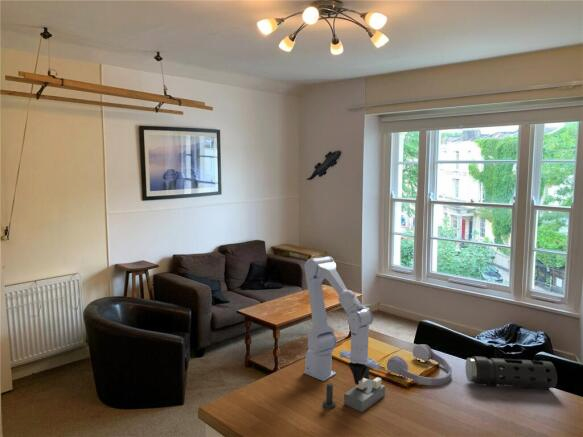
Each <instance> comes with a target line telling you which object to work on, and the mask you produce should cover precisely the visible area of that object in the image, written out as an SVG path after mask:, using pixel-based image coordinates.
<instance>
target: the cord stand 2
mask: <svg viewBox="0 0 583 437" xmlns="http://www.w3.org/2000/svg"><path fill="white" fill-rule="evenodd" d="M363 378H365V379H369V380H372V381H373V379H372V378H371V377H370V367H367V369H366V371H365V373H364V375H363ZM363 378H362V379H363Z"/></svg>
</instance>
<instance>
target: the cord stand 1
mask: <svg viewBox="0 0 583 437" xmlns="http://www.w3.org/2000/svg"><path fill="white" fill-rule="evenodd" d="M333 391H334V385H333V383H327V384H326V395H325V396H326V399H325V400H324V401H322V406H323V408H325V409H326V410H327V409H328V410H329V409H330V410H331V409H334V408H336V402H335V401H334V400H333V399H334V398H333V396H334V394H333V393H334V392H333Z"/></svg>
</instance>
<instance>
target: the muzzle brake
mask: <svg viewBox="0 0 583 437" xmlns="http://www.w3.org/2000/svg"><path fill="white" fill-rule="evenodd" d="M546 370H547V371H546ZM465 375H466V380H467V381H468V382H469V383H473V384H474V385H481V386H482V385H483V386H485V387H494V388H496V387H497V386H509V387H511V386H512V387H513V388H521V389H533V390H546V391H547V390H548V391H549V390H550V389H554V388H555V387H557V383H558V374H557V370H556V367H555V365H554V363H553V362H552V361H549V360H548V361H547V360H533V359H532V360H530V359H529V360H528V359H516V358H514V359H513V358H501V357H500V358H498V357H495V358H494V357H490V358H487V357H486V356H478V355H477V356H476V355H475V356H472V357H467V358H466V359H465Z"/></svg>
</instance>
